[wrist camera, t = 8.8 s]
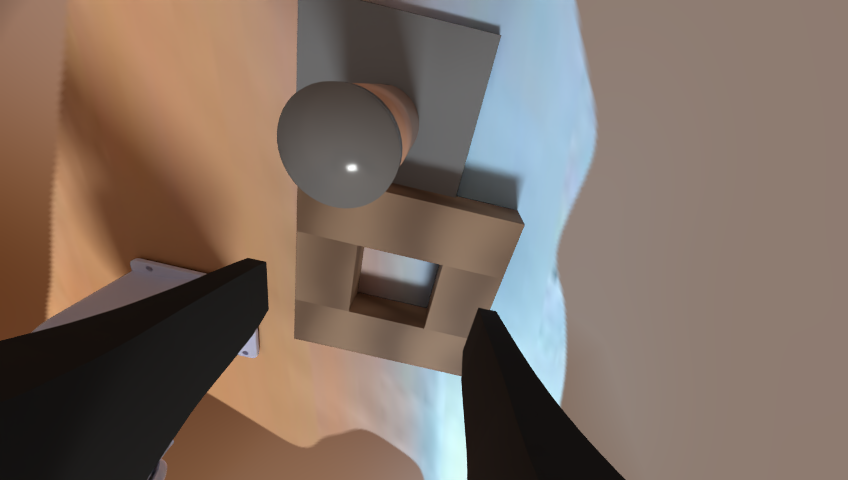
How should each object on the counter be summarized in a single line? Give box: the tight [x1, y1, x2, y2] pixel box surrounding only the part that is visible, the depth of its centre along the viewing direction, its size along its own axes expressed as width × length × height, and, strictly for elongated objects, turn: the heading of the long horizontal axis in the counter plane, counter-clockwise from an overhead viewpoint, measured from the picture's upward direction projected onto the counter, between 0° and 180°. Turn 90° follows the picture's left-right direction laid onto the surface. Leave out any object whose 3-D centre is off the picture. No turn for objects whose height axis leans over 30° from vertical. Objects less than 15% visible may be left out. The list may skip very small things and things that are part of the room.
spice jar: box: [277, 81, 419, 208], centre depth 14 cm, size 4×4×8 cm
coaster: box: [296, 0, 501, 198], centre depth 17 cm, size 10×10×1 cm
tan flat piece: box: [294, 183, 525, 376], centre depth 21 cm, size 13×13×2 cm
